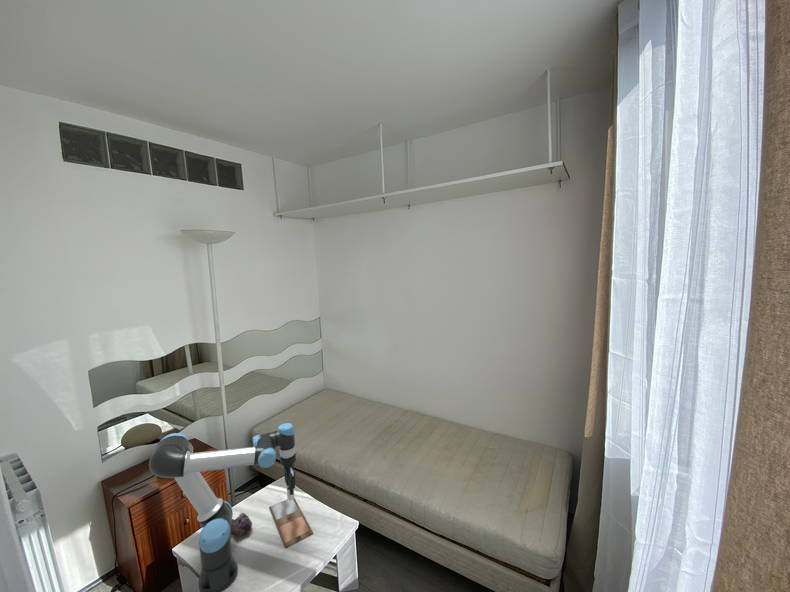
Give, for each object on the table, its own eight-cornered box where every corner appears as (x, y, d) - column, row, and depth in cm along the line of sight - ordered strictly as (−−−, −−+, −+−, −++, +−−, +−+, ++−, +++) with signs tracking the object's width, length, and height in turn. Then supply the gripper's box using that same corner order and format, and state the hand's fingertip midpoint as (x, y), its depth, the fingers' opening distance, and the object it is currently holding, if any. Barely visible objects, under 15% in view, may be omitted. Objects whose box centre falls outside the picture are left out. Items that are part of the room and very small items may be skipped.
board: (285, 548, 154) (285, 547, 154) (269, 508, 182) (268, 507, 182) (313, 533, 162) (313, 532, 162) (293, 497, 189) (293, 496, 189)
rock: (230, 535, 156) (246, 543, 160) (243, 516, 161) (258, 524, 165) (223, 525, 165) (238, 533, 169) (236, 507, 169) (250, 515, 174)
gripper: (300, 458, 160) (303, 502, 162) (290, 446, 172) (293, 488, 173) (284, 464, 156) (288, 509, 157) (276, 451, 167) (279, 494, 169)
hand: (291, 498), depth 165 cm, fingers closed
